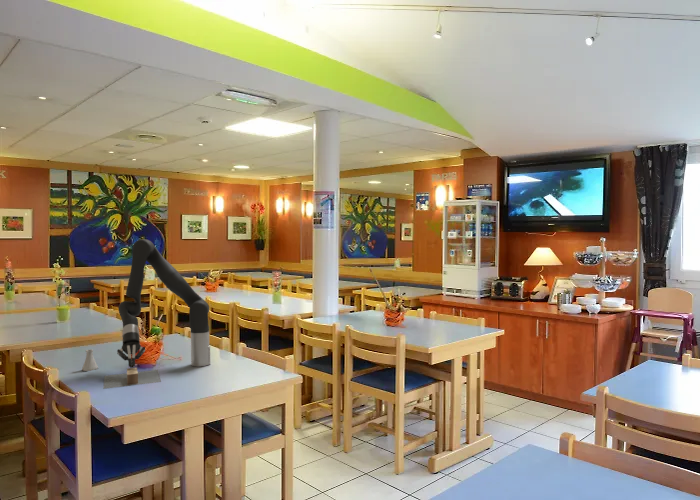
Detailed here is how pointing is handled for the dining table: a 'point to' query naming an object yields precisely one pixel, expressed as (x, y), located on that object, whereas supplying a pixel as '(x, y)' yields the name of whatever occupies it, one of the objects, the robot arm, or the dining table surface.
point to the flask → (89, 362)
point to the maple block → (132, 376)
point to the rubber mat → (121, 379)
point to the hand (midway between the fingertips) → (131, 366)
